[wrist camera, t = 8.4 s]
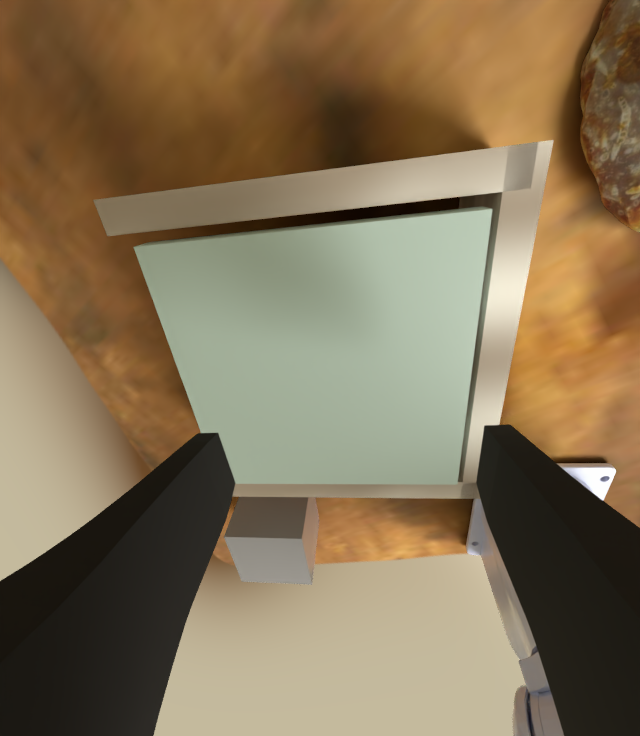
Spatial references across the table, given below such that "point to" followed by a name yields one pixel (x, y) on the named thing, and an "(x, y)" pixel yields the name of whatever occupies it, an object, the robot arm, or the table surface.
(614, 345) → the table surface
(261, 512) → the granite block
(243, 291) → the trapdoor
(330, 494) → the frame
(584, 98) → the decorative stone
